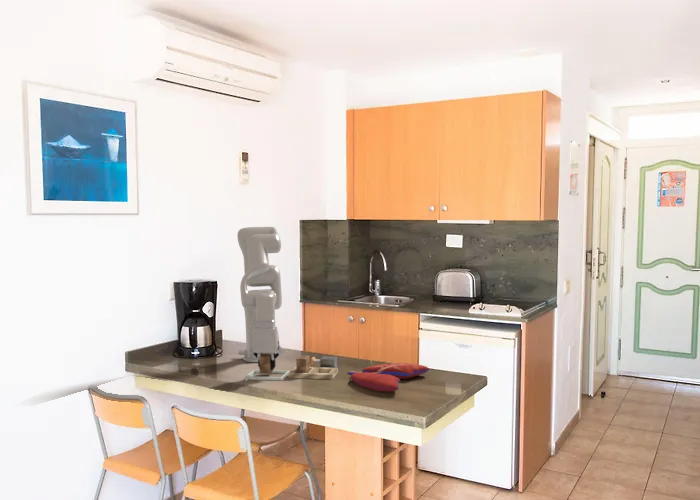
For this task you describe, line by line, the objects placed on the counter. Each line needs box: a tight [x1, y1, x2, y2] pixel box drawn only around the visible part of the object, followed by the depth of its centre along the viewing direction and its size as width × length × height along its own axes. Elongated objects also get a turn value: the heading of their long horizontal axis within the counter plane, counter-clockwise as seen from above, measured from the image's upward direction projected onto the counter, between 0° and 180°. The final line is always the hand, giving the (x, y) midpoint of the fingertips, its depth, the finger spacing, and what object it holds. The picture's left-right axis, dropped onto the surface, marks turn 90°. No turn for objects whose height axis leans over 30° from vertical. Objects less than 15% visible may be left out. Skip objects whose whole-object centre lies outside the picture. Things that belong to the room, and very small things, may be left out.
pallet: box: [287, 366, 339, 380], centre depth 244 cm, size 18×11×3 cm, turn 79°
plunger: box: [310, 356, 321, 367], centre depth 253 cm, size 5×4×3 cm
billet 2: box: [295, 354, 311, 373], centre depth 244 cm, size 4×6×7 cm, turn 169°
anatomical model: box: [347, 362, 430, 392], centre depth 237 cm, size 30×7×30 cm
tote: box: [244, 369, 290, 382], centre depth 243 cm, size 15×10×2 cm
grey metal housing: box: [319, 355, 338, 368], centre depth 253 cm, size 6×5×6 cm
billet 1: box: [259, 353, 275, 375], centre depth 244 cm, size 4×6×7 cm, turn 169°
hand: (267, 368), depth 244 cm, fingers closed on billet 1, 4 cm apart
